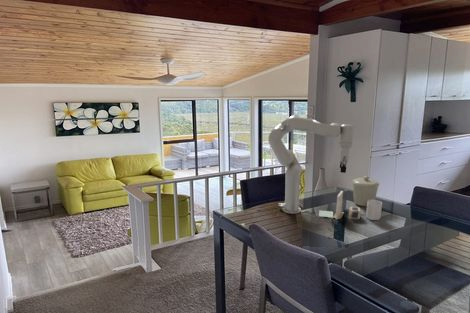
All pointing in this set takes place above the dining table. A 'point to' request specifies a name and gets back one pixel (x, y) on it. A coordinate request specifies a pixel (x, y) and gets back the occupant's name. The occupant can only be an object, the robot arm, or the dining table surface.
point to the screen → (339, 206)
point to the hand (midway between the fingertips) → (342, 170)
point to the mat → (325, 214)
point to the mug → (373, 209)
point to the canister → (364, 190)
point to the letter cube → (354, 213)
